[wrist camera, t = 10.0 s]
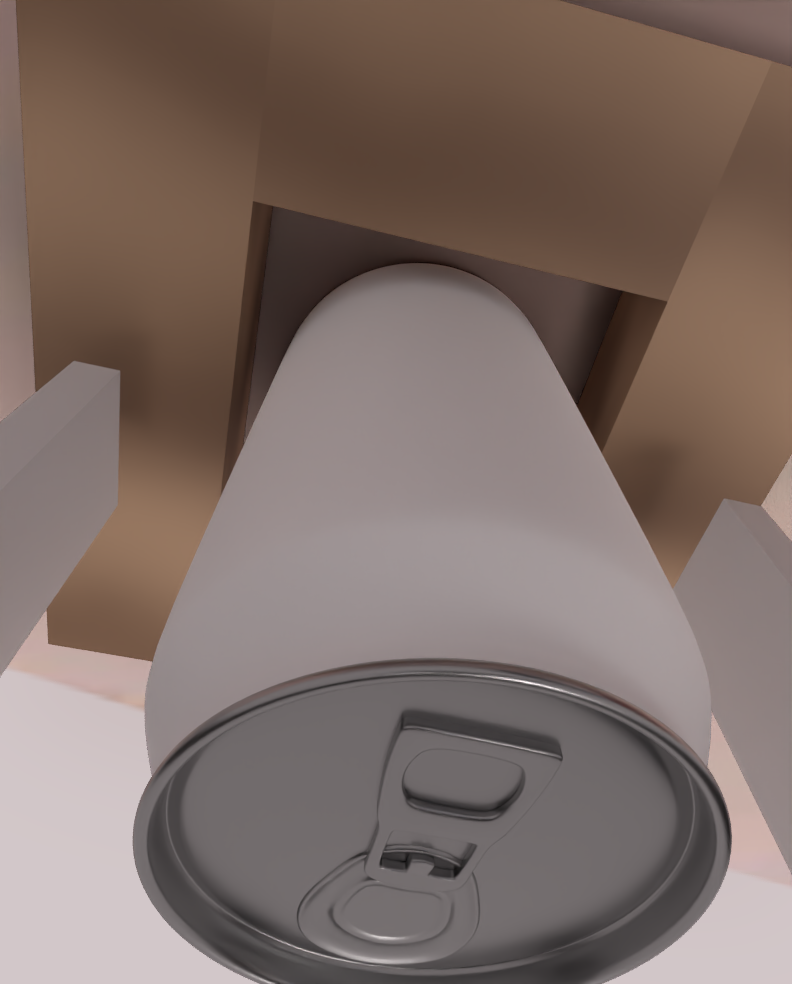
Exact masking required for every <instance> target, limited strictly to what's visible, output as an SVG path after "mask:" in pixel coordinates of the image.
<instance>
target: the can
mask: <svg viewBox="0 0 792 984" xmlns="http://www.w3.org/2000/svg"><path fill="white" fill-rule="evenodd" d="M711 719H712V714H711V694H710V685H709V680H708V675H707V671H706V667H705V664H704V661H703V658H702V655H701V653H700V650H699V647H698V644H697V641H696V638H695V636H694V634H693V631H692V629H691V627H690V625H689V623H688V620H687V618H686V616H685V614H684V612H683V610H682V608H681V606H680V604H679V601H678V599H677V597H676V595H675V593H674V591H673V589H672V587H671V585H670V583H669V581H668V579H667V577H666V575H665V574H664V572H663V570H662V568H661V566H660V564H659V562H658V560H657V558H656V556H655V554H654V552H653V550H652V548H651V546H650V544H649V542H648V540H647V538H646V537H645V535H644V533H643V531H642V529H641V527H640V525H639V523H638V521H637V519H636V517H635V516H634V514H633V512H632V510H631V508H630V506H629V504H628V502H627V500H626V498H625V497H624V495H623V493H622V491H621V489H620V487H619V485H618V483H617V481H616V479H615V477H614V476H613V474H612V472H611V470H610V468H609V466H608V464H607V462H606V460H605V459H604V457H603V455H602V453H601V451H600V449H599V447H598V445H597V444H596V442H595V440H594V438H593V436H592V434H591V432H590V430H589V428H588V427H587V425H586V423H585V421H584V419H583V417H582V415H581V413H580V412H579V410H578V408H577V406H576V404H575V402H574V400H573V399H572V397H571V395H570V393H569V391H568V389H567V387H566V385H565V384H564V382H563V380H562V378H561V376H560V374H559V373H558V371H557V369H556V367H555V365H554V363H553V361H552V360H551V358H550V356H549V354H548V352H547V351H546V349H545V347H544V345H543V343H542V342H541V340H540V338H539V336H538V335H537V333H536V331H535V330H534V328H533V327H532V325H531V324H530V322H529V321H528V319H527V318H526V316H525V315H524V314H523V313H522V311H521V310H520V309H519V308H518V307H517V306H516V305H515V304H514V303H513V302H512V301H511V300H510V299H509V298H508V297H507V296H506V295H505V294H503V293H502V292H501V291H500V290H498V289H497V288H495V287H494V286H492V285H491V284H489V283H488V282H486V281H484V280H482V279H480V278H478V277H476V276H474V275H472V274H470V273H467V272H464V271H462V270H458V269H455V268H451V267H447V266H442V265H436V264H426V263H407V264H397V265H391V266H386V267H382V268H378V269H375V270H372V271H369V272H366V273H364V274H361V275H359V276H357V277H355V278H353V279H351V280H349V281H347V282H345V283H344V284H342V285H340V286H339V287H337V288H336V289H335V290H333V291H332V292H331V293H329V294H328V295H327V296H326V297H325V298H323V299H322V300H321V301H320V302H319V303H318V304H317V305H316V306H315V307H314V309H313V310H312V311H311V312H310V313H309V315H308V316H307V317H306V318H305V320H304V321H303V323H302V324H301V326H300V327H299V329H298V330H297V332H296V334H295V336H294V338H293V340H292V342H291V343H290V345H289V348H288V350H287V352H286V354H285V356H284V358H283V360H282V362H281V364H280V367H279V369H278V371H277V373H276V375H275V377H274V380H273V382H272V384H271V386H270V388H269V390H268V393H267V395H266V397H265V399H264V401H263V404H262V406H261V408H260V410H259V412H258V415H257V417H256V419H255V421H254V423H253V426H252V428H251V430H250V432H249V435H248V437H247V439H246V441H245V443H244V446H243V448H242V450H241V452H240V455H239V457H238V459H237V461H236V464H235V466H234V468H233V470H232V472H231V475H230V477H229V479H228V481H227V484H226V486H225V488H224V490H223V493H222V495H221V497H220V499H219V502H218V504H217V506H216V508H215V511H214V513H213V515H212V517H211V520H210V522H209V524H208V526H207V529H206V531H205V533H204V535H203V538H202V540H201V542H200V544H199V547H198V549H197V551H196V554H195V556H194V558H193V560H192V563H191V565H190V567H189V570H188V572H187V574H186V577H185V579H184V581H183V584H182V586H181V588H180V591H179V593H178V595H177V597H176V600H175V602H174V605H173V607H172V610H171V612H170V615H169V617H168V620H167V622H166V625H165V627H164V630H163V632H162V635H161V637H160V640H159V643H158V645H157V648H156V652H155V655H154V658H153V662H152V666H151V669H150V673H149V677H148V681H147V687H146V693H145V732H146V741H147V750H148V755H149V762H150V768H151V774H152V777H151V779H150V781H149V782H148V784H147V786H146V788H145V790H144V793H143V795H142V797H141V800H140V803H139V805H138V808H137V812H136V816H135V821H134V829H133V851H134V859H135V864H136V868H137V872H138V875H139V878H140V880H141V883H142V885H143V887H144V889H145V891H146V893H147V895H148V897H149V898H150V900H151V902H152V904H153V905H154V906H155V908H156V909H157V911H158V912H159V913H160V915H161V916H162V917H163V918H164V920H165V921H166V922H167V923H168V924H169V925H170V926H171V927H172V928H173V929H174V930H175V931H176V932H177V933H178V934H179V935H180V936H181V937H182V938H184V939H185V940H186V941H187V942H188V943H190V944H191V945H192V946H194V947H195V948H196V949H197V950H199V951H200V952H202V953H203V954H205V955H206V956H208V957H209V958H211V959H212V960H214V961H215V962H217V963H219V964H221V965H222V966H224V967H226V968H228V969H230V970H232V971H233V972H235V973H237V974H239V975H242V976H244V977H246V978H248V979H250V980H252V981H255V982H257V983H259V984H602V983H605V982H607V981H609V980H612V979H614V978H616V977H619V976H621V975H623V974H625V973H627V972H629V971H630V970H633V969H634V968H636V967H638V966H640V965H642V964H643V963H645V962H647V961H649V960H650V959H652V958H653V957H655V956H656V955H658V954H659V953H661V952H662V951H664V950H665V949H666V948H668V947H669V946H670V945H672V944H673V943H674V942H675V941H677V940H678V939H679V938H680V937H681V936H682V935H684V934H685V933H686V932H687V931H688V930H689V929H690V928H691V927H692V926H693V925H694V924H695V923H696V922H697V920H699V918H700V917H701V916H702V915H703V914H704V912H705V911H706V910H707V908H708V907H709V906H710V904H711V902H712V901H713V899H714V898H715V896H716V894H717V893H718V891H719V889H720V887H721V884H722V882H723V880H724V877H725V875H726V872H727V868H728V865H729V860H730V854H731V844H732V833H731V823H730V818H729V813H728V809H727V806H726V803H725V800H724V797H723V795H722V792H721V790H720V788H719V786H718V784H717V782H716V781H715V779H714V777H713V775H712V774H711V772H710V771H709V769H708V768H707V765H708V757H709V748H710V738H711Z"/></svg>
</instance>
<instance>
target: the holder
mask: <svg viewBox="0 0 792 984" xmlns="http://www.w3.org/2000/svg"><path fill="white" fill-rule="evenodd" d="M16 13H17V33H18V53H19V72H20V92H21V112H22V132H23V152H24V171H25V191H26V211H27V231H28V250H29V270H30V290H31V310H32V329H33V349H34V369H35V389H36V392H37V391H38V390H39V389H41V388H42V387H43V386H44V385H45V384H47V383H48V382H49V381H50V380H51V379H53V378H54V377H55V376H56V375H57V374H59V373H60V372H61V371H62V370H63V369H65V368H66V367H67V366H68V365H69V364H71V363H72V362H73V361H77V362H82V363H86V364H91V365H96V366H101V367H105V368H110V369H115V370H120V411H119V466H118V505H117V507H116V508H115V510H114V511H113V513H112V514H111V516H110V517H109V519H108V520H107V522H106V523H105V524H104V526H103V527H102V529H101V530H100V532H99V533H98V535H97V536H96V538H95V539H94V540H93V542H92V543H91V545H90V546H89V548H88V549H87V551H86V552H85V554H84V555H83V557H82V558H81V559H80V561H79V562H78V564H77V565H76V567H75V568H74V570H73V571H72V573H71V574H70V576H69V577H68V578H67V580H66V581H65V583H64V584H63V586H62V587H61V589H60V590H59V592H58V593H57V595H56V596H55V597H54V599H53V600H52V602H51V603H50V605H49V606H48V608H47V626H48V644H52V645H58V646H64V647H70V648H76V649H82V650H88V651H94V652H100V653H106V654H112V655H118V656H124V657H130V658H135V659H141V660H147V661H153V658H154V655H155V652H156V648H157V645H158V643H159V640H160V637H161V635H162V632H163V630H164V627H165V625H166V622H167V620H168V617H169V615H170V612H171V610H172V607H173V605H174V602H175V600H176V597H177V595H178V593H179V591H180V588H181V586H182V584H183V581H184V579H185V577H186V574H187V572H188V570H189V567H190V565H191V563H192V560H193V558H194V556H195V554H196V551H197V549H198V547H199V544H200V542H201V540H202V538H203V535H204V533H205V531H206V529H207V526H208V524H209V522H210V520H211V517H212V515H213V513H214V511H215V508H216V506H217V504H218V502H219V499H220V497H221V495H222V493H223V490H224V488H225V486H226V484H227V481H228V479H229V477H230V475H231V472H232V470H233V468H234V466H235V464H236V461H237V459H238V457H239V455H240V452H241V450H242V448H243V441H244V433H245V425H246V417H247V409H248V401H249V393H250V385H251V377H252V369H253V361H254V353H255V345H256V337H257V329H258V321H259V313H260V305H261V297H262V289H263V281H264V273H265V265H266V257H267V249H268V241H269V233H270V225H271V217H272V209H273V206H275V207H280V208H284V209H288V210H292V211H296V212H300V213H304V214H308V215H313V216H317V217H321V218H325V219H329V220H333V221H337V222H341V223H346V224H350V225H354V226H358V227H362V228H366V229H370V230H374V231H379V232H383V233H387V234H391V235H395V236H399V237H403V238H407V239H412V240H416V241H420V242H424V243H428V244H432V245H436V246H440V247H445V248H449V249H453V250H457V251H461V252H465V253H469V254H473V255H478V256H482V257H486V258H490V259H494V260H498V261H502V262H506V263H511V264H515V265H519V266H523V267H527V268H531V269H535V270H539V271H544V272H548V273H552V274H556V275H560V276H564V277H568V278H572V279H577V280H581V281H585V282H589V283H593V284H597V285H601V286H606V287H610V288H614V289H618V290H622V294H621V296H620V299H619V301H618V304H617V307H616V309H615V312H614V314H613V317H612V319H611V322H610V324H609V327H608V329H607V332H606V334H605V337H604V339H603V342H602V344H601V347H600V349H599V352H598V354H597V357H596V359H595V362H594V364H593V367H592V369H591V372H590V374H589V377H588V379H587V382H586V384H585V387H584V389H583V392H582V395H581V397H580V400H579V402H578V405H577V408H578V410H579V412H580V413H581V415H582V417H583V419H584V421H585V423H586V425H587V427H588V428H589V430H590V432H591V434H592V436H593V438H594V440H595V442H596V444H597V445H598V447H599V449H600V451H601V453H602V455H603V457H604V459H605V460H606V462H607V464H608V466H609V468H610V470H611V472H612V474H613V476H614V477H615V479H616V481H617V483H618V485H619V487H620V489H621V491H622V493H623V495H624V497H625V498H626V500H627V502H628V504H629V506H630V508H631V510H632V512H633V514H634V516H635V517H636V519H637V521H638V523H639V525H640V527H641V529H642V531H643V533H644V535H645V537H646V538H647V540H648V542H649V544H650V546H651V548H652V550H653V552H654V554H655V556H656V558H657V560H658V562H659V564H660V566H661V568H662V570H663V572H664V574H665V575H666V577H667V579H668V581H669V583H670V585H671V587H672V589H673V588H674V586H675V584H676V583H677V581H678V579H679V577H680V576H681V574H682V572H683V570H684V568H685V567H686V565H687V563H688V561H689V560H690V558H691V556H692V554H693V552H694V551H695V549H696V547H697V545H698V544H699V542H700V540H701V538H702V536H703V535H704V533H705V531H706V529H707V528H708V526H709V524H710V522H711V520H712V519H713V517H714V515H715V513H716V512H717V510H718V508H719V506H720V504H721V503H722V501H723V499H729V500H734V501H739V502H743V503H748V504H753V505H757V506H761V504H762V503H763V501H764V499H765V498H766V496H767V494H768V493H769V491H770V489H771V488H772V486H773V484H774V483H775V481H776V479H777V478H778V476H779V474H780V473H781V471H782V469H783V468H784V466H785V464H786V463H787V461H788V459H789V458H790V456H791V454H792V67H791V66H787V65H784V64H780V63H777V62H773V61H770V60H767V59H763V58H760V57H756V56H753V55H749V54H746V53H742V52H739V51H735V50H732V49H728V48H725V47H721V46H718V45H714V44H711V43H707V42H704V41H700V40H697V39H693V38H690V37H686V36H683V35H680V34H676V33H673V32H669V31H666V30H662V29H659V28H655V27H652V26H648V25H645V24H641V23H638V22H634V21H631V20H627V19H624V18H620V17H617V16H613V15H610V14H606V13H603V12H599V11H596V10H593V9H589V8H586V7H582V6H579V5H575V4H572V3H568V2H565V1H561V0H16Z"/></svg>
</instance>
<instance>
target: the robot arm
mask: <svg viewBox="0 0 792 984" xmlns="http://www.w3.org/2000/svg"><path fill="white" fill-rule="evenodd" d="M119 411H120V370H115V369H110V368H105V367H101V366H96V365H91V364H86V363H82V362H77V361H73V362H72V363H71V364H69V365H68V366H67V367H66V368H65V369H63V370H62V371H61V372H60V373H59V374H57V375H56V376H55V377H54V378H53V379H51V380H50V381H49V382H48V383H47V384H45V385H44V386H43V387H42V388H41V389H39V390H38V391H37V392H36V393H35V394H33V395H32V396H31V397H30V398H29V399H27V400H26V401H25V402H24V403H23V404H21V405H20V406H19V407H18V408H16V409H15V410H14V411H13V412H12V413H10V414H9V415H8V416H7V417H6V418H4V419H3V420H2V421H1V422H0V676H1V675H2V673H3V672H4V670H5V669H6V668H7V666H8V665H9V663H10V662H11V660H12V659H13V657H14V656H15V654H16V653H17V651H18V650H19V649H20V647H21V646H22V644H23V643H24V641H25V640H26V638H27V637H28V635H29V634H30V632H31V631H32V630H33V628H34V627H35V625H36V624H37V622H38V621H39V619H40V618H41V616H42V615H43V613H44V612H45V611H46V609H47V608H48V606H49V605H50V603H51V602H52V600H53V599H54V597H55V596H56V595H57V593H58V592H59V590H60V589H61V587H62V586H63V584H64V583H65V581H66V580H67V578H68V577H69V576H70V574H71V573H72V571H73V570H74V568H75V567H76V565H77V564H78V562H79V561H80V559H81V558H82V557H83V555H84V554H85V552H86V551H87V549H88V548H89V546H90V545H91V543H92V542H93V540H94V539H95V538H96V536H97V535H98V533H99V532H100V530H101V529H102V527H103V526H104V524H105V523H106V522H107V520H108V519H109V517H110V516H111V514H112V513H113V511H114V510H115V508H116V507H117V505H118V466H119ZM673 591H674V593H675V595H676V597H677V599H678V601H679V604H680V606H681V608H682V610H683V612H684V614H685V616H686V618H687V620H688V623H689V625H690V627H691V629H692V631H693V634H694V636H695V638H696V641H697V644H698V647H699V650H700V653H701V655H702V658H703V661H704V664H705V667H706V671H707V675H708V680H709V685H710V694H711V711H712V713H713V715H714V717H715V719H716V721H717V723H718V725H719V727H720V729H721V731H722V733H723V735H724V737H725V739H726V741H727V743H728V745H729V747H730V749H731V751H732V753H733V755H734V757H735V759H736V762H737V764H738V766H739V768H740V770H741V772H742V774H743V776H744V778H745V780H746V782H747V784H748V786H749V788H750V790H751V792H752V794H753V796H754V798H755V800H756V802H757V804H758V806H759V808H760V810H761V812H762V815H763V817H764V819H765V821H766V823H767V825H768V827H769V829H770V831H771V833H772V835H773V837H774V839H775V841H776V843H777V845H778V847H779V849H780V851H781V853H782V855H783V857H784V859H785V861H786V863H787V866H788V868H789V870H790V872H791V874H792V542H791V540H790V539H789V538H788V537H787V536H786V535H785V533H784V532H783V531H782V530H781V529H780V527H779V526H778V525H777V524H776V523H775V522H774V520H773V519H772V518H771V517H770V516H769V514H768V513H767V512H766V511H765V510H764V509H763V507H762V506H757V505H753V504H748V503H743V502H739V501H734V500H729V499H723V501H722V503H721V504H720V506H719V508H718V510H717V512H716V513H715V515H714V517H713V519H712V520H711V522H710V524H709V526H708V528H707V529H706V531H705V533H704V535H703V536H702V538H701V540H700V542H699V544H698V545H697V547H696V549H695V551H694V552H693V554H692V556H691V558H690V560H689V561H688V563H687V565H686V567H685V568H684V570H683V572H682V574H681V576H680V577H679V579H678V581H677V583H676V584H675V586H674V588H673Z"/></svg>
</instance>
